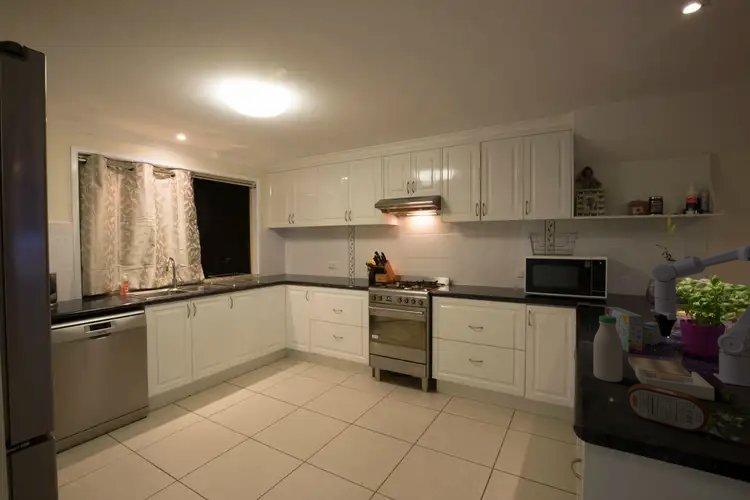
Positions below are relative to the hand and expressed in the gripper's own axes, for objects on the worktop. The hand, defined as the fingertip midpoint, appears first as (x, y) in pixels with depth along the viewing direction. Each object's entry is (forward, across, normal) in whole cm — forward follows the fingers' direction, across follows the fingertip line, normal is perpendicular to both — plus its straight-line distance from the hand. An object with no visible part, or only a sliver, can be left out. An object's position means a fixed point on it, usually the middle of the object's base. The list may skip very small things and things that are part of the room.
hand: (665, 336), depth 119 cm
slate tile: (+10, +25, -4) cm, 27 cm away
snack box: (+11, -22, -8) cm, 25 cm away
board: (+10, +9, -4) cm, 14 cm away
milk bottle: (+11, +22, -20) cm, 32 cm away
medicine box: (+11, -31, +4) cm, 33 cm away
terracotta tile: (+10, +20, -4) cm, 22 cm away
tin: (+11, +49, -13) cm, 52 cm away
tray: (+10, +22, -4) cm, 25 cm away
